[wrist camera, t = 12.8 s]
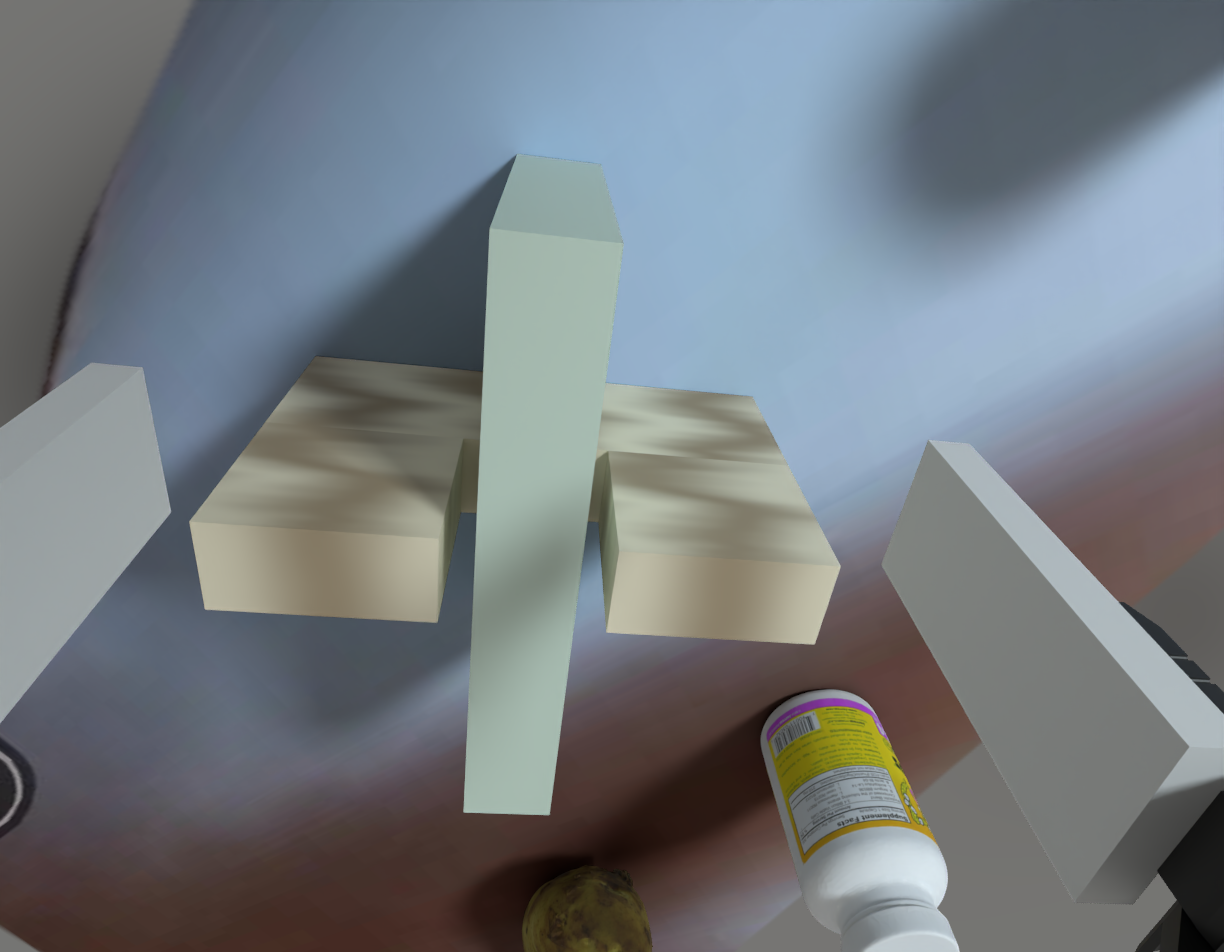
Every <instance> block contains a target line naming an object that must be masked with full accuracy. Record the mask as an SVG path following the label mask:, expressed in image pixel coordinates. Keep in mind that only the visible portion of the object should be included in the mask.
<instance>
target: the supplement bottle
mask: <svg viewBox="0 0 1224 952" xmlns="http://www.w3.org/2000/svg"><path fill="white" fill-rule="evenodd" d="M761 749H762V753H763V757H764V761H765V764H766V768H767V772H768V775H769V779H770V782H771V786H772V789H773V793H774V796H775V800H776V803H777V807H778V810H779V814H780V817H781V821H782V824H783V828H784V831H785V835H786V838H787V842H788V845H789V849H790V852H791V856H792V859H793V863H794V867H795V870H796V874H797V877H798V881H799V884H800V888H801V892H802V895H803V899H804V901H805V904H806V906H807V908H808V909H809V911H810V912H811V914H812V915H813V917H814V918H815V919H816V920H817V921H818V922H819V923H821V924H822V925H823V926H825V927H826V928H828V929H829V930H831V931H833V932H835V933H838V934H840V935H841V952H959V947H958V944H957V942H956V940H955V937H954V935H953V932H952V930H951V928H950V925H949V922H948V920H947V919H946V918H945V916H944V915H942V914H941V913H940V911H939V910H938V909H937V907H938V905H939V904H940V903H941V901H942V899H943V897H944V895H945V892H946V888H947V881H948V875H947V868H946V864H945V861H944V858H943V856H942V854H941V852H940V849H939V847H938V845H937V843H936V841H935V839H934V837H933V835H932V832H931V830H930V829H929V826H928V824H927V822H926V819H925V818H924V815H923V813H922V811H921V809H920V807H919V805H918V802H917V800H916V798H915V796H914V794H913V792H912V790H911V787H910V785H909V783H908V781H907V779H906V777H905V775H904V772H903V770H902V768H901V766H900V764H899V762H898V759H897V757H896V755H895V753H894V751H893V749H892V747H891V744H890V742H889V740H888V738H887V736H886V734H885V732H884V730H883V727H882V725H881V723H880V721H879V719H878V717H877V715H876V714H875V712H874V710H873V709H872V708H871V706H870V705H869V704H868V703H867V702H865V701H864V700H863V699H862V698H860V697H858V696H857V695H854V694H852V693H849V692H846V691H842V690H835V689H825V690H816V691H811V692H806V693H803V694H800V695H797V696H795V697H793V698H791V699H789V700H787V701H786V702H784V703H783V704H781V705H780V706H779V707H778V708H777V709H775V710H774V711H773V713H772V714H771V715H770V716H769V718H768V719H767V721H766V723H765V725H764V727H763V730H762V733H761Z"/></svg>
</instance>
